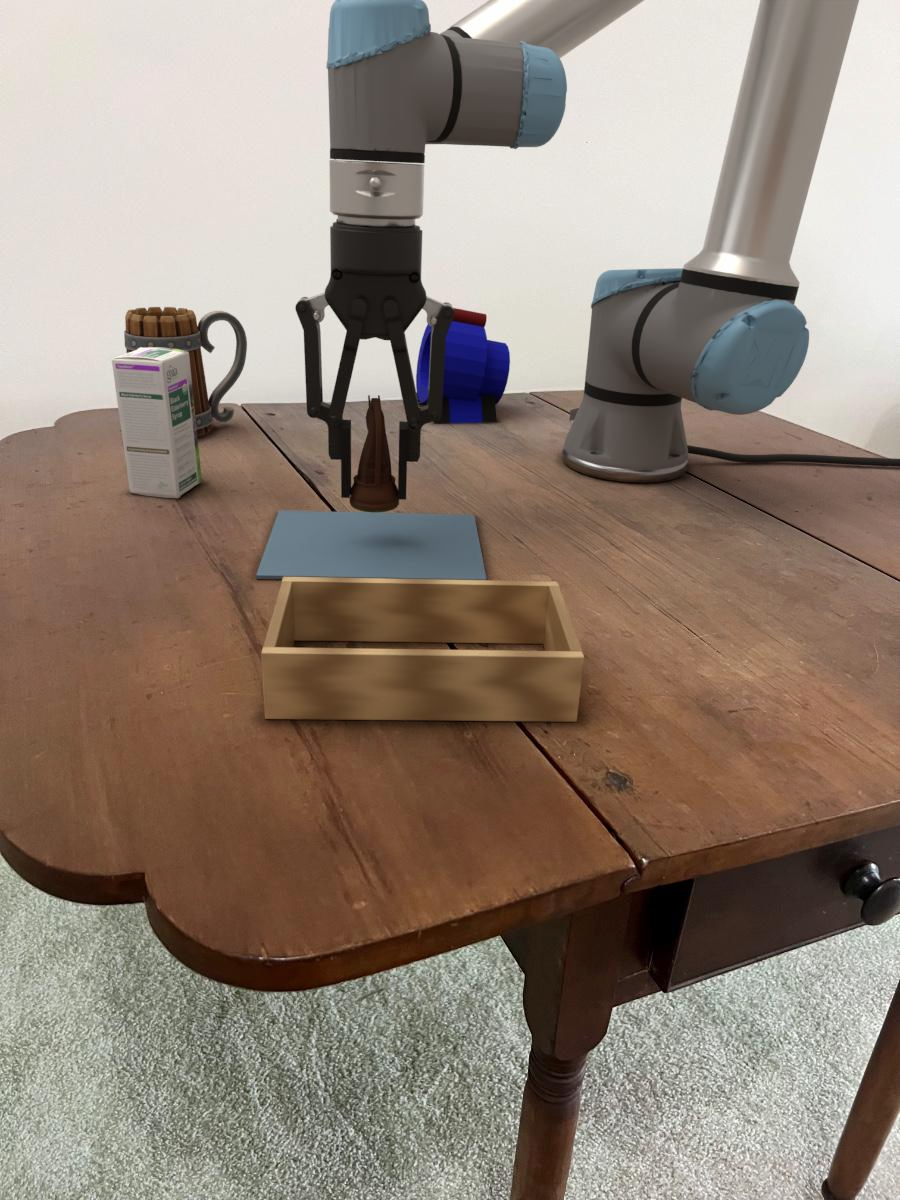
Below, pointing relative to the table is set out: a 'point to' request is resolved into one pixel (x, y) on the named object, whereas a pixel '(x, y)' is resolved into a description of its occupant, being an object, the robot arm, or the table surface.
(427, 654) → the pine box
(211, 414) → the mug
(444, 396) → the alarm clock
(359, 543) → the mat
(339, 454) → the robot arm
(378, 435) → the chess piece
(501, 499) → the table surface
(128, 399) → the syrup box
